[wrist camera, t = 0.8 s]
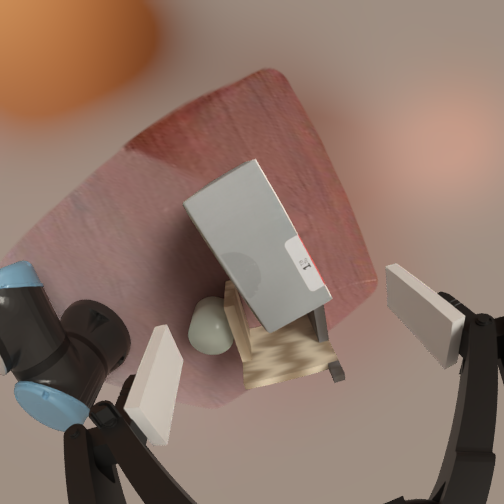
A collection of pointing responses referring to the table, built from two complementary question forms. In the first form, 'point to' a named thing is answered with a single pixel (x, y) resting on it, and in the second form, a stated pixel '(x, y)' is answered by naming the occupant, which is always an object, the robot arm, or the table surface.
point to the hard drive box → (258, 246)
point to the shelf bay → (281, 346)
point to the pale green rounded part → (210, 327)
